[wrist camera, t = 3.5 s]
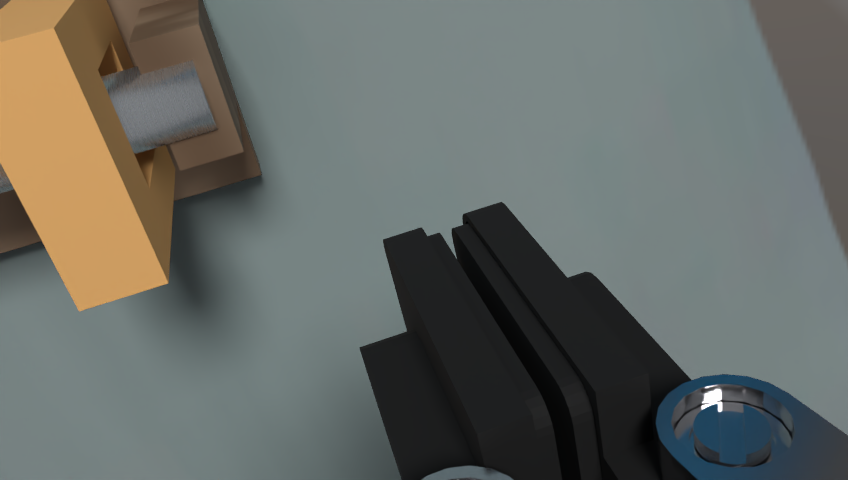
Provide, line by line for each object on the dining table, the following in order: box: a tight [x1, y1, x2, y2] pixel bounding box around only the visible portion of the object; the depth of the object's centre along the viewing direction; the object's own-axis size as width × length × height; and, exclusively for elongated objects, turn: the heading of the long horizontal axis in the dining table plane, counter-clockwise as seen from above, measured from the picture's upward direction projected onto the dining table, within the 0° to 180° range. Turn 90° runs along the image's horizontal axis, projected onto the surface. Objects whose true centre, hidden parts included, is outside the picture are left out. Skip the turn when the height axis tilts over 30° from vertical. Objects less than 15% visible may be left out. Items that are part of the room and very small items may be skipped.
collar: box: [0, 0, 175, 311], centre depth 23 cm, size 2×7×8 cm, turn 12°
